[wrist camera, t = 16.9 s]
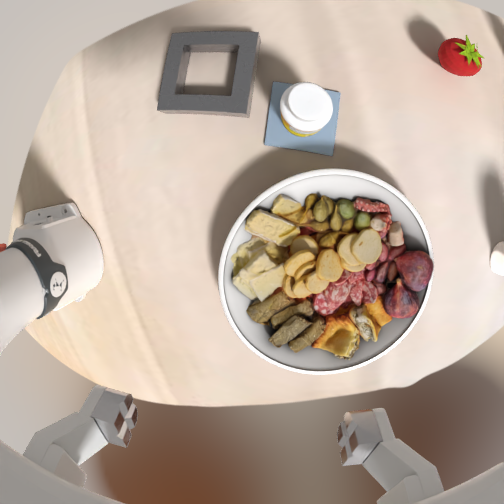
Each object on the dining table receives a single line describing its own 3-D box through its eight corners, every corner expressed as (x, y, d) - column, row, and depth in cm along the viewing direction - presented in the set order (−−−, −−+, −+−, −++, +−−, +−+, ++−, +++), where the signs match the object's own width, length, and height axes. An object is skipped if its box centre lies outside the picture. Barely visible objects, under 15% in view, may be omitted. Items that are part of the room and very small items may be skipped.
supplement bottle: (288, 92, 32) (289, 67, 23) (328, 106, 32) (344, 86, 23) (275, 129, 34) (271, 116, 24) (315, 144, 34) (327, 136, 24)
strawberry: (419, 48, 27) (449, 25, 18) (454, 51, 26) (487, 33, 17) (431, 82, 29) (466, 66, 20) (466, 83, 28) (502, 71, 18)
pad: (264, 144, 35) (264, 144, 35) (273, 82, 32) (273, 81, 32) (332, 156, 35) (332, 155, 34) (339, 93, 32) (340, 92, 31)
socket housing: (165, 113, 35) (157, 110, 32) (179, 40, 31) (172, 33, 28) (249, 117, 34) (246, 113, 31) (260, 41, 31) (258, 32, 28)
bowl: (254, 368, 47) (249, 399, 39) (200, 197, 39) (180, 205, 31) (420, 331, 41) (437, 357, 34) (405, 151, 33) (431, 150, 26)
